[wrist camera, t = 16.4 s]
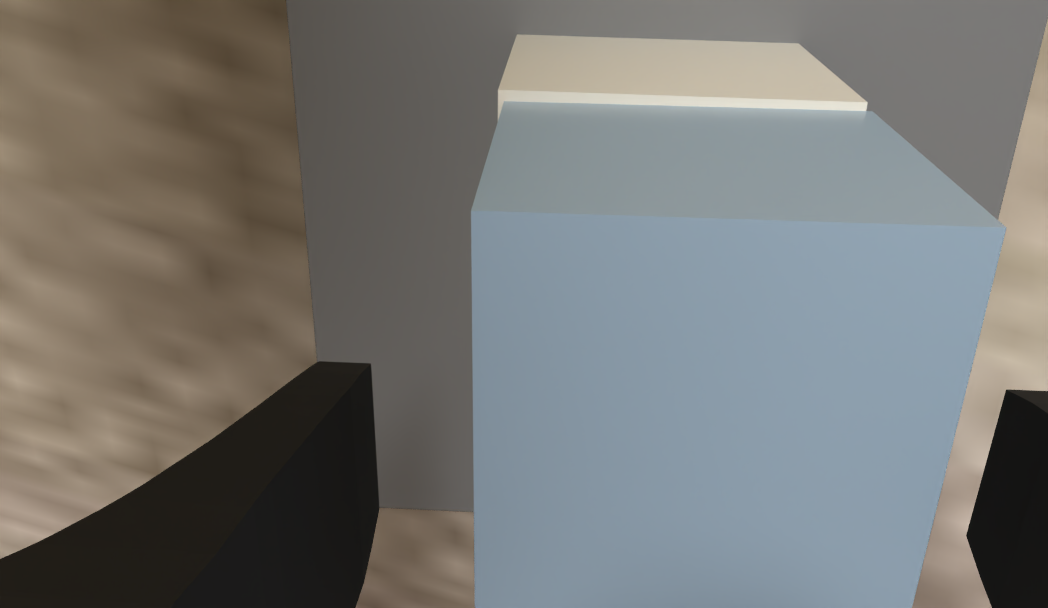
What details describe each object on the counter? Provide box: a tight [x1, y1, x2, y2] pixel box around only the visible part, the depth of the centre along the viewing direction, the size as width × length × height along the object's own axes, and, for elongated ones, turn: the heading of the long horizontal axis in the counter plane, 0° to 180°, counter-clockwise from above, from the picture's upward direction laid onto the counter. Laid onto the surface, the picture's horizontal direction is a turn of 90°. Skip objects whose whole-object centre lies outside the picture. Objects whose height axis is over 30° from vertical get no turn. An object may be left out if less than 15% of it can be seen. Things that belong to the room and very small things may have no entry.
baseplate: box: [286, 0, 1048, 512], centre depth 17 cm, size 12×12×1 cm
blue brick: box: [471, 101, 1006, 608], centre depth 11 cm, size 7×4×4 cm, turn 179°
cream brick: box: [498, 34, 868, 120], centre depth 15 cm, size 7×4×4 cm, turn 179°
